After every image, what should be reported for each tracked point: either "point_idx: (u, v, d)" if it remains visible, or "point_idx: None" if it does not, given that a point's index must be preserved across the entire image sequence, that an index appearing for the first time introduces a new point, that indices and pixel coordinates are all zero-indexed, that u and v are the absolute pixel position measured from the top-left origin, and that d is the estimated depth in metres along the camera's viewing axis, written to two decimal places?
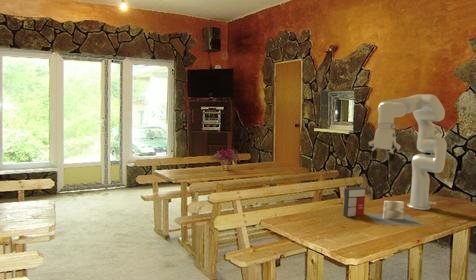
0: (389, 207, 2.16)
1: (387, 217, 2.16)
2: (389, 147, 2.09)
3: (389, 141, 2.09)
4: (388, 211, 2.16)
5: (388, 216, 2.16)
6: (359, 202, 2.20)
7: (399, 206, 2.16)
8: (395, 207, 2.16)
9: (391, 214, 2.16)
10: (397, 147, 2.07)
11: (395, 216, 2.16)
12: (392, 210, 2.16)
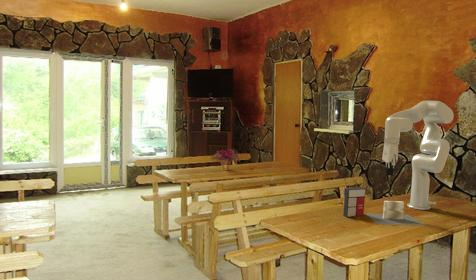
0: (389, 207, 2.16)
1: (387, 217, 2.16)
2: None
3: None
4: (388, 211, 2.16)
5: (388, 216, 2.16)
6: (359, 202, 2.20)
7: (399, 206, 2.16)
8: (395, 207, 2.16)
9: (391, 214, 2.16)
10: None
11: (395, 216, 2.16)
12: (392, 210, 2.16)
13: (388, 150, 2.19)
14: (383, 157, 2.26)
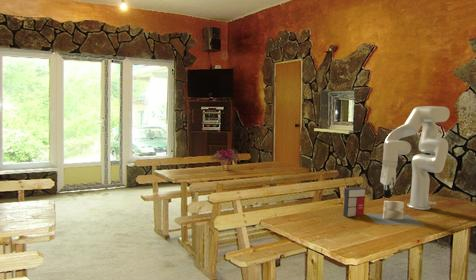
0: (389, 207, 2.16)
1: (387, 217, 2.16)
2: None
3: None
4: (388, 211, 2.16)
5: (388, 216, 2.16)
6: (359, 202, 2.20)
7: (399, 206, 2.16)
8: (395, 207, 2.16)
9: (391, 214, 2.16)
10: None
11: (395, 216, 2.16)
12: (392, 210, 2.16)
13: (386, 173, 2.20)
14: (381, 179, 2.27)
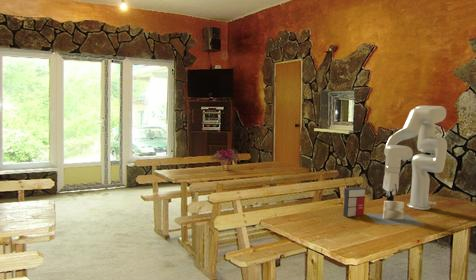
0: (389, 207, 2.16)
1: (387, 217, 2.16)
2: None
3: None
4: (388, 211, 2.16)
5: (388, 216, 2.16)
6: (359, 202, 2.20)
7: (399, 206, 2.16)
8: (395, 207, 2.16)
9: (391, 214, 2.16)
10: None
11: (395, 216, 2.16)
12: (392, 210, 2.16)
13: (389, 179, 2.17)
14: (384, 185, 2.23)
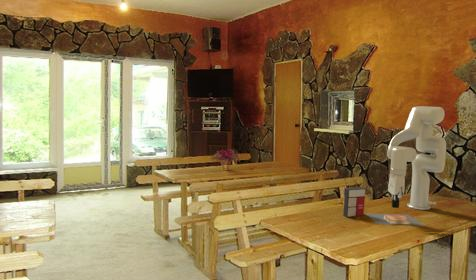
0: None
1: None
2: None
3: None
4: None
5: None
6: (359, 202, 2.20)
7: None
8: None
9: None
10: None
11: None
12: None
13: (394, 182, 2.10)
14: (389, 188, 2.16)
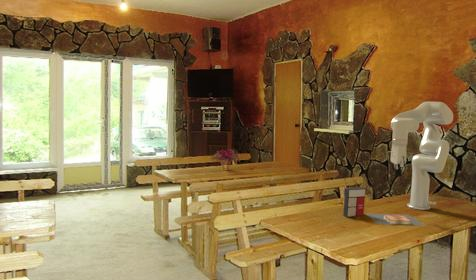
0: None
1: None
2: None
3: None
4: None
5: None
6: (359, 202, 2.20)
7: None
8: None
9: None
10: None
11: None
12: None
13: (396, 152, 2.19)
14: (391, 158, 2.25)
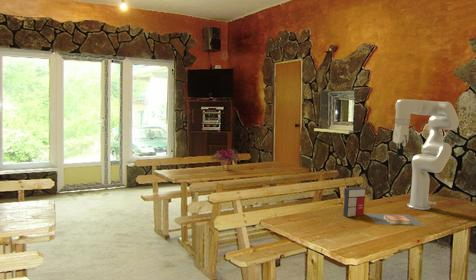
0: None
1: None
2: None
3: None
4: None
5: None
6: (359, 202, 2.20)
7: None
8: None
9: None
10: None
11: None
12: None
13: (399, 131, 2.24)
14: (394, 138, 2.30)
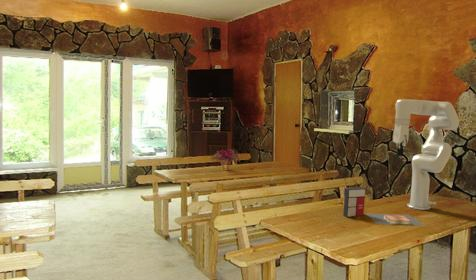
0: None
1: None
2: None
3: None
4: None
5: None
6: (359, 202, 2.20)
7: None
8: None
9: None
10: None
11: None
12: None
13: (399, 131, 2.24)
14: (394, 138, 2.30)
